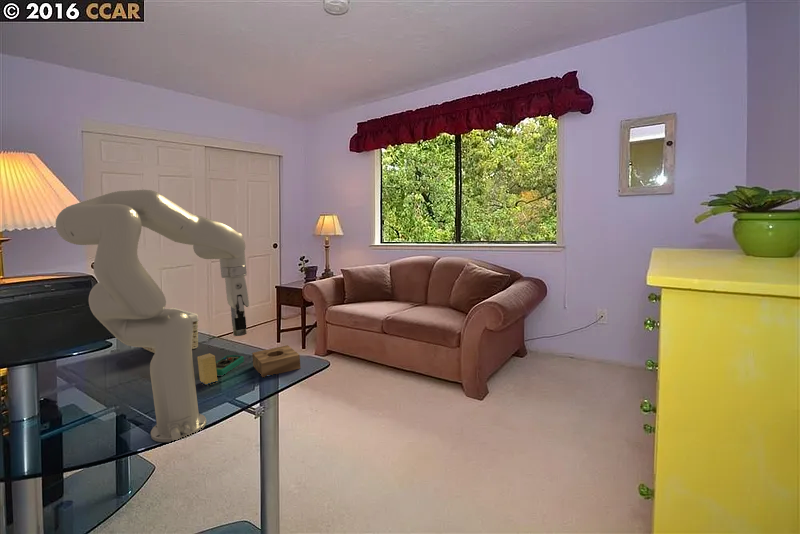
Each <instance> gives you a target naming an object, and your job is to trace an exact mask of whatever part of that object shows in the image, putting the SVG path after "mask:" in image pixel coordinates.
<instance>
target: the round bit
mask: <svg viewBox="0 0 800 534" xmlns="http://www.w3.org/2000/svg"><path fill="white" fill-rule="evenodd" d="M236 308H239V306H236ZM244 311H245V309H244ZM237 312H238V310H237ZM230 315H232V317H231V326H232V325H233V326H232V333H233V336H234V337H242V336H245V335H247V333H248V332H247V328H246V329H242V330H236V329H235V319H234V318H235V311H234V308H232V307H231V306H230Z"/></svg>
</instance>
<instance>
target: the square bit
mask: <svg viewBox="0 0 800 534" xmlns="http://www.w3.org/2000/svg"><path fill="white" fill-rule="evenodd" d="M196 357H197V366H198V375H199V382H200V381H201V382H203V383H204V384H208V383H211V382H215V381H218V377H217V370H216V362H217V361H216V355H214V354H212V353H206V354H202V355H199V356H196Z"/></svg>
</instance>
